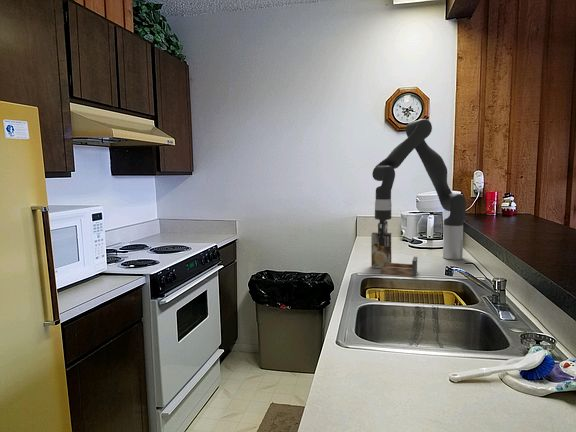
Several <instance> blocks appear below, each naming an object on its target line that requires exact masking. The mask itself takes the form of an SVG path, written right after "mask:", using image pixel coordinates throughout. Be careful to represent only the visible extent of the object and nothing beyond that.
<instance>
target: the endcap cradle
mask: <svg viewBox="0 0 576 432" xmlns="http://www.w3.org/2000/svg"><path fill="white" fill-rule="evenodd" d="M380 270H381V271H380V273H381V274H382V275H395V276H410V277H416V276H417V274H416V273H418V256H413V258H412V262H411V263H400V262H398V263H397V262H391V263H386V262H384V266H381V268H380Z"/></svg>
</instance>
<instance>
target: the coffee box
mask: <svg viewBox="0 0 576 432" xmlns="http://www.w3.org/2000/svg"><path fill="white" fill-rule="evenodd" d="M380 234H382V233H380ZM384 236H385V237H384V246H379V237H378V232H374V231H373V232H372V233H371V242H370V243H371V244H370V245H371V250H370V251H371V254H370V256H371V258H370V260H371V268H372V269H381V266H384V262H386V263H392V232H387V233H385V234H384Z"/></svg>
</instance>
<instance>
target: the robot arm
mask: <svg viewBox="0 0 576 432" xmlns="http://www.w3.org/2000/svg"><path fill="white" fill-rule="evenodd" d="M432 126H433V125H432V122H431V121H430V120H429V119H426V118H421V119H418V120H414V121H411V122H408V124H406V127H405V133H406V136H407V137H406V139H404V140H403V141H402V142H401V143H399V144H398V145H397V146H396V147H395V148H393V150H391V152H390V153H389V154H388V156H386V158H384V159H383V160H382V161H380V162H378V163H377V164H376V166H374V168H373V171H372V178H373V180H375V181H377V182H381V185H380V186H377V187H376V188H375V201H374V219H375V220H378V221H379V222H378V223H377V233H378V237H379V246H384V237H385V236H384V234H385V233H388V226H389V225H388V224H389V223H388V221H389V220H391V219H392V189H393V186H394V183H395V178H396V171H395V169H398V168H399V167H400V166H401V165H402V164H403V162H404V161H405V160H406V158H407V157H408V156H409V155H410V154H411V152H413V151H414V150H415V151H416V153H417V155H418V157H419V159H420V160H421V163H422V164H423V167H424V169H425V171H426V173H427V175H428V178H429V179H430V181H431V183H432V185H433V187H434V190H435V191H436V194H437V197H438V200H439V202H440V205H441V207H442V209H444V210H445V211H447V212H449V216H447V217H446V218H444V220H443V238H442V239H443V242H442V245H443V247H442V258H444V259H447V260H455V261H456V260H463V256H464V254H463V251H464V238H463V237H464V222H465V220H466V212H467V211H466V210H467V199H466V197H465V196H464V195H463V194H461V193H453V192H452V190H451V188H450V187H449V184H448V168H447V166H446V164H445V161H444V160H443V158H442V156H441V155H440V154H439V153H438V152H437V151H435V150H434V149H433V148H432V147H430V146H429V145H428V143H427V142H426V140H425V139H427V138H428V137H429V136H431V133H432V131H433V127H432ZM380 233H382V234H380Z"/></svg>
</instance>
